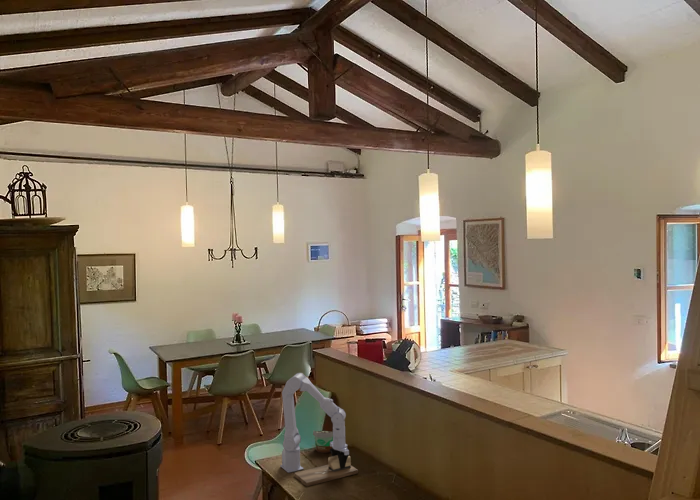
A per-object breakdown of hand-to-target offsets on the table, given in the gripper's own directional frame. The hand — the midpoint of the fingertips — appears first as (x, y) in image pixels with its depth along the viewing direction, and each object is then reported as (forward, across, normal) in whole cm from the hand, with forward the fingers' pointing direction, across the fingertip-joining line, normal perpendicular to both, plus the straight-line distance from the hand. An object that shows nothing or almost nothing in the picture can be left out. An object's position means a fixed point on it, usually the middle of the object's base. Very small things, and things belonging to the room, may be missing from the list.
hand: (339, 466), depth 251 cm
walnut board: (+2, 0, +7) cm, 7 cm away
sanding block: (+1, 0, 0) cm, 1 cm away
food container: (+3, +27, -6) cm, 28 cm away
